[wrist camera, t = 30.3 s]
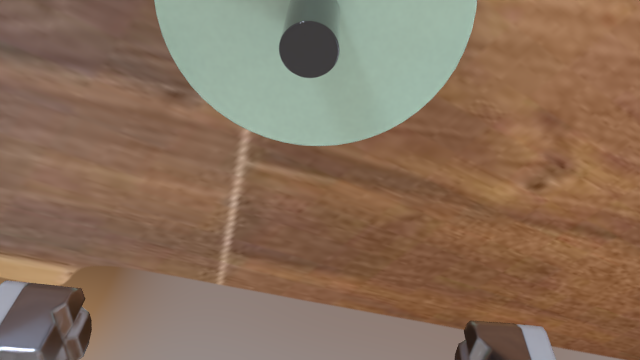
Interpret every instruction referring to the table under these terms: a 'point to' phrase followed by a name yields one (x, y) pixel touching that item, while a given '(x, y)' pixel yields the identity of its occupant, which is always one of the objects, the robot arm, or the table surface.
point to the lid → (316, 61)
